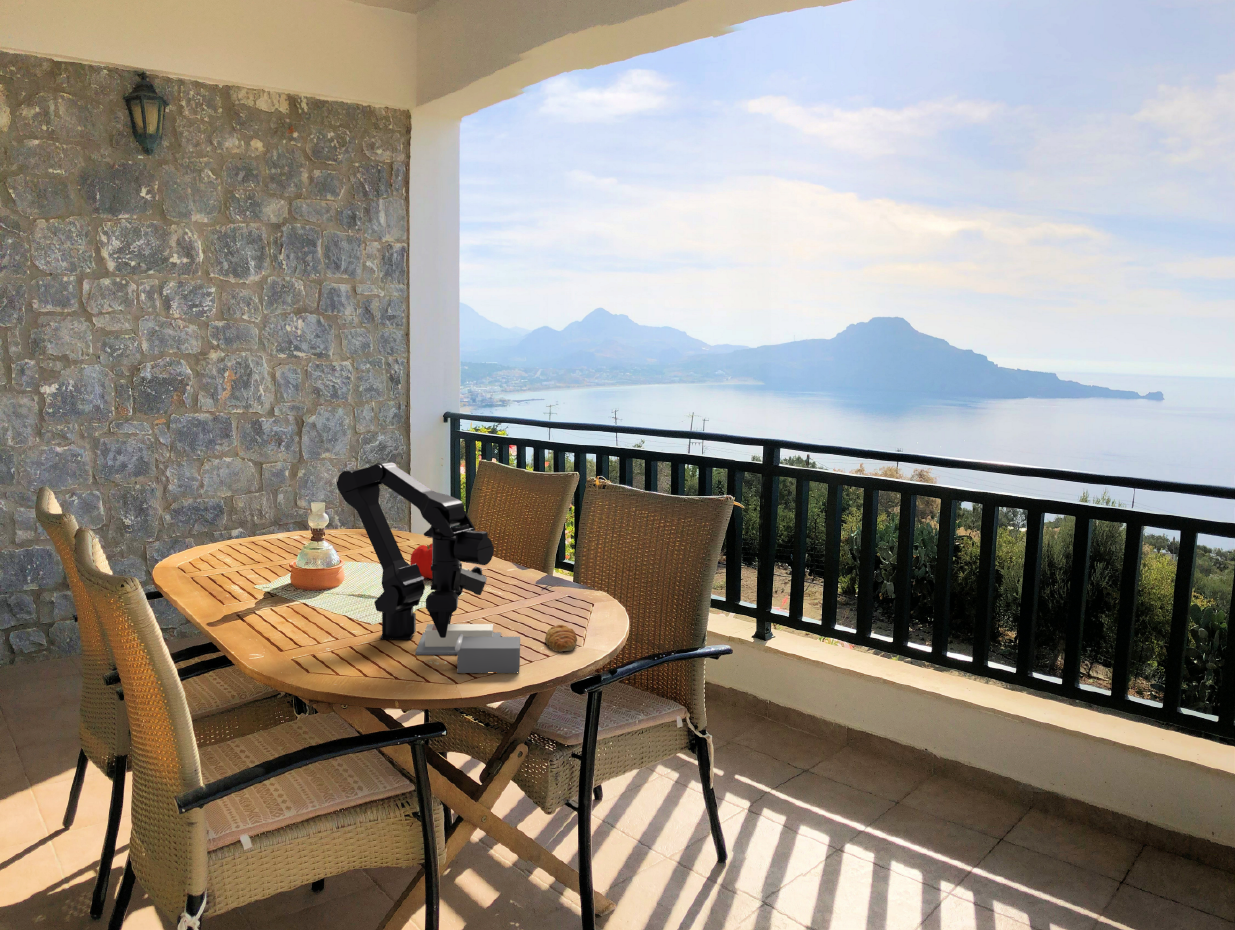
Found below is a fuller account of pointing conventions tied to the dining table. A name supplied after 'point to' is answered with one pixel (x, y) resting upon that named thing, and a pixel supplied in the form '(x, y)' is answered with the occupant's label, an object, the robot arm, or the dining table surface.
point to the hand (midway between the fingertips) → (445, 630)
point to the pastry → (561, 638)
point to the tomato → (423, 560)
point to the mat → (439, 648)
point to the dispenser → (488, 654)
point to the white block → (455, 634)
